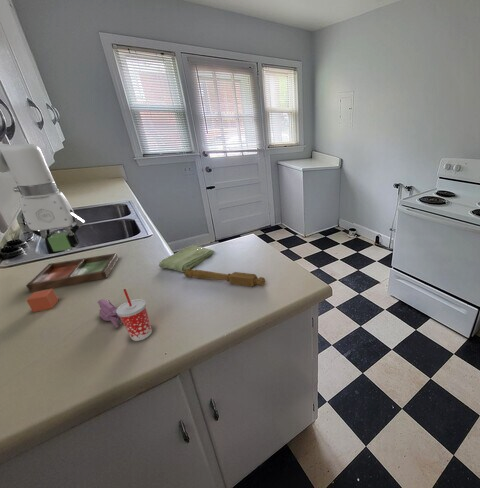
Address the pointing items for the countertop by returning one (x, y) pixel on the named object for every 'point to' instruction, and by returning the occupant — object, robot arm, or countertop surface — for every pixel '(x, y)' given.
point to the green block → (60, 241)
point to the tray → (73, 272)
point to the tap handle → (227, 277)
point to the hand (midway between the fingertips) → (65, 246)
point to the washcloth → (186, 258)
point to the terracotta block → (42, 300)
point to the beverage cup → (135, 318)
